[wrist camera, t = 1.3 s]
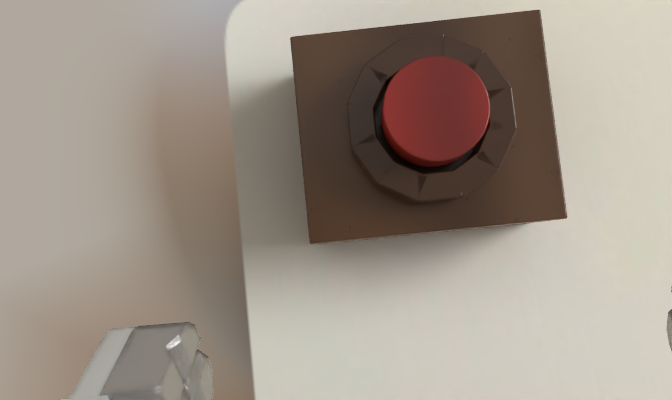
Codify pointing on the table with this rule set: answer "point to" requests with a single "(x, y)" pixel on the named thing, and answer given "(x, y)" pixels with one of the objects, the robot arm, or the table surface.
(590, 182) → the table surface
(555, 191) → the brown push button box
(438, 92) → the button
